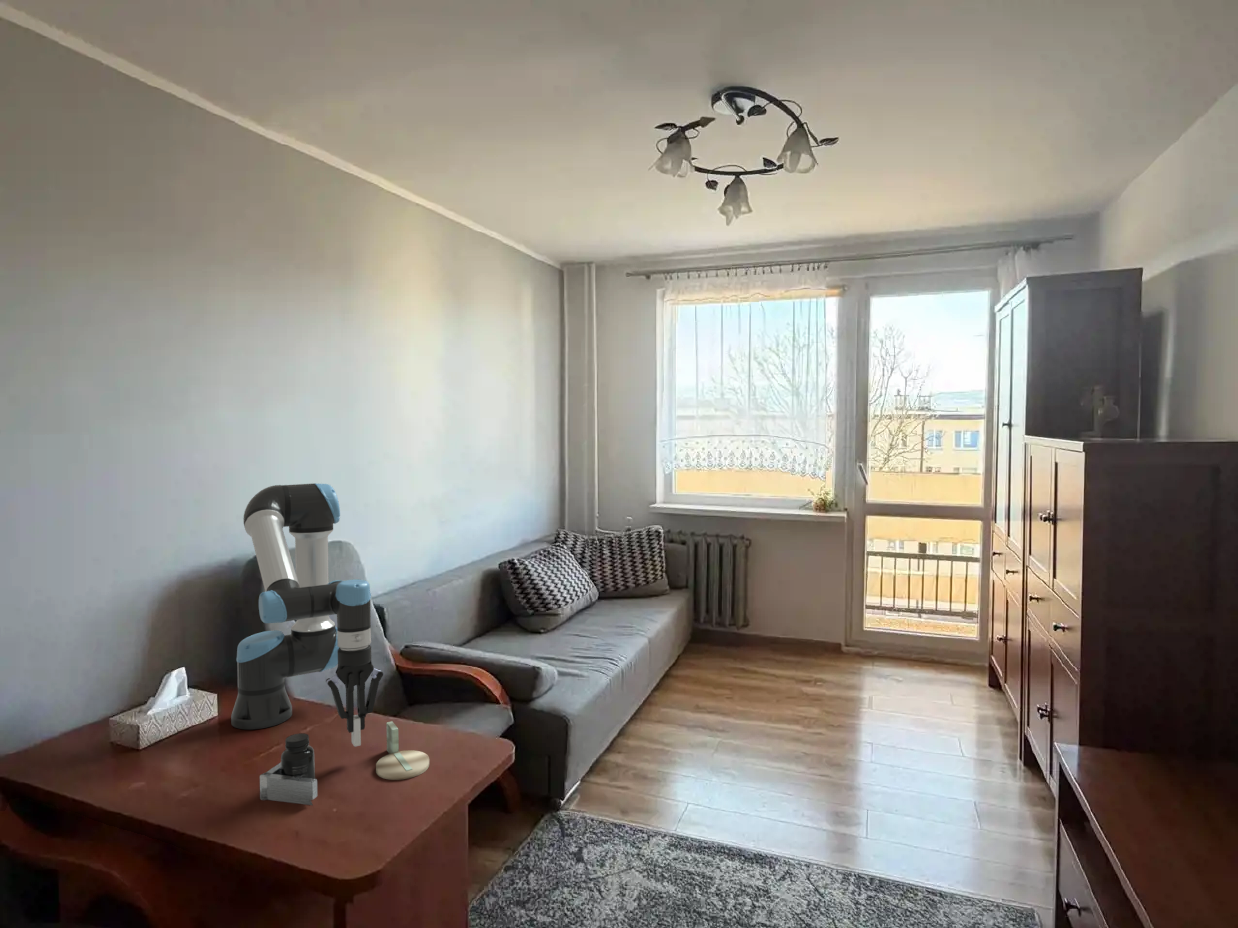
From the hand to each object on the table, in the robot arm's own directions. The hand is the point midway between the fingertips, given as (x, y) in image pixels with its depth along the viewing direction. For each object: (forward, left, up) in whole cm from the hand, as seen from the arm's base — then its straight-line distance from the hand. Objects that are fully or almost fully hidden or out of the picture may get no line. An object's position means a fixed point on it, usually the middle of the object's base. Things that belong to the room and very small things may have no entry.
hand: (356, 743), depth 172 cm
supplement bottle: (+4, -14, -6) cm, 15 cm away
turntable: (+6, +8, -4) cm, 11 cm away
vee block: (+4, -16, -6) cm, 17 cm away
